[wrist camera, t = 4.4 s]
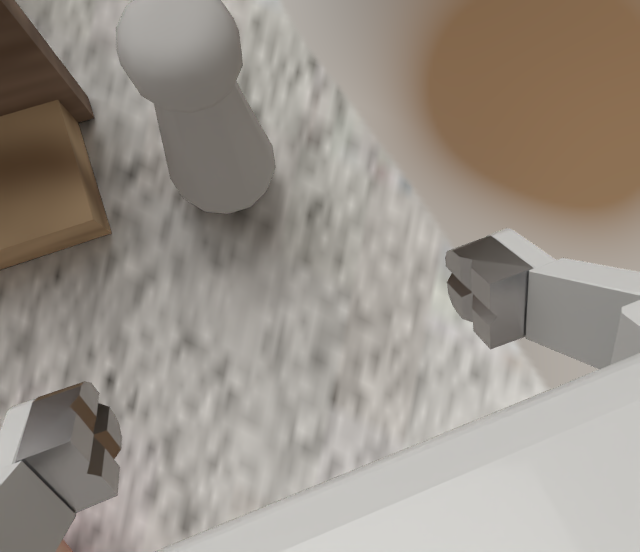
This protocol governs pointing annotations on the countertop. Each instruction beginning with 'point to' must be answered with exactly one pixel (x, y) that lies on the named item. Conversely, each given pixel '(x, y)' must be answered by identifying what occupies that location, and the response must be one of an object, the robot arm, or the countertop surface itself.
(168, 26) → the salt shaker
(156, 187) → the countertop surface
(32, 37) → the cleat board
